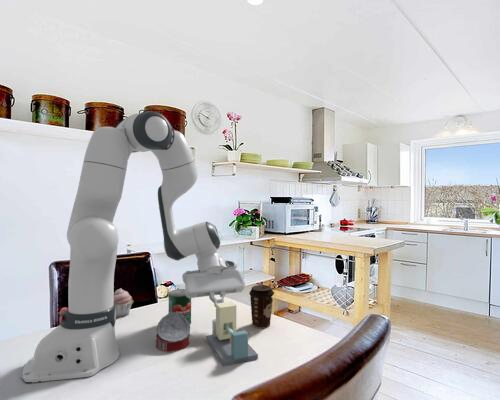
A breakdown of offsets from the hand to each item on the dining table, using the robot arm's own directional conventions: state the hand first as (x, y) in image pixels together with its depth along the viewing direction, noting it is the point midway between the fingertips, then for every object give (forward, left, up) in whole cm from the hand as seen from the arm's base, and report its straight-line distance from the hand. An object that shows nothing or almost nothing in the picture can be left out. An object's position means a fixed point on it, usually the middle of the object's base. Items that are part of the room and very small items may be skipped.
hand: (219, 305), depth 103 cm
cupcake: (-29, +31, -10) cm, 44 cm away
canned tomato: (-10, +14, -10) cm, 20 cm away
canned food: (-15, -1, -10) cm, 18 cm away
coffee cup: (+16, +2, -10) cm, 19 cm away
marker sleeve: (0, -6, -7) cm, 10 cm away
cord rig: (0, -10, -9) cm, 14 cm away
